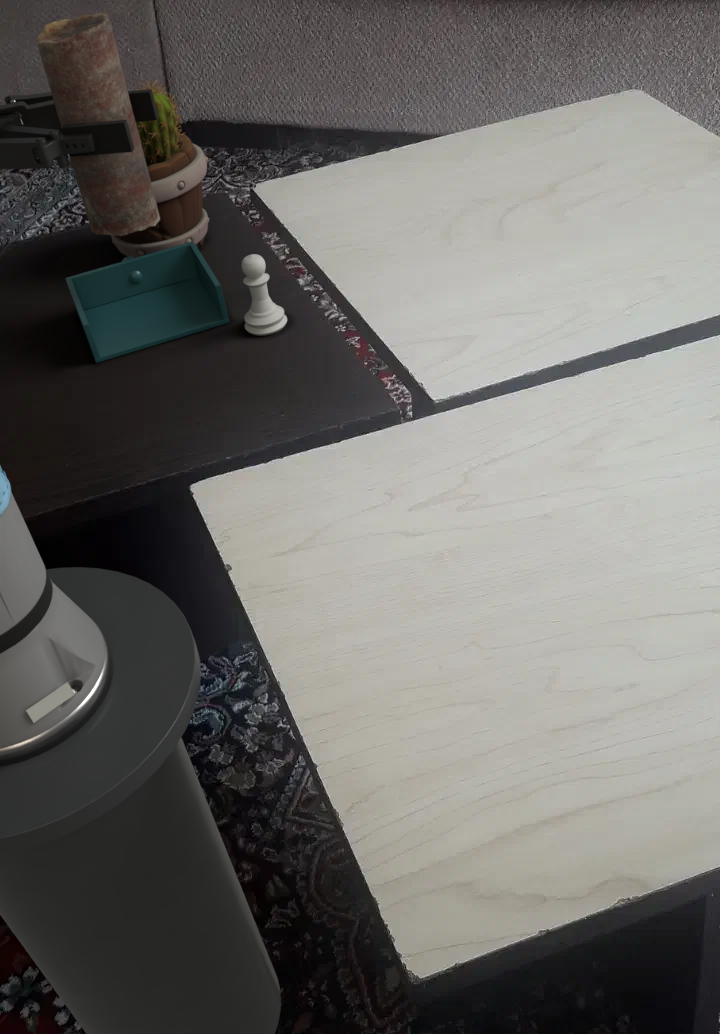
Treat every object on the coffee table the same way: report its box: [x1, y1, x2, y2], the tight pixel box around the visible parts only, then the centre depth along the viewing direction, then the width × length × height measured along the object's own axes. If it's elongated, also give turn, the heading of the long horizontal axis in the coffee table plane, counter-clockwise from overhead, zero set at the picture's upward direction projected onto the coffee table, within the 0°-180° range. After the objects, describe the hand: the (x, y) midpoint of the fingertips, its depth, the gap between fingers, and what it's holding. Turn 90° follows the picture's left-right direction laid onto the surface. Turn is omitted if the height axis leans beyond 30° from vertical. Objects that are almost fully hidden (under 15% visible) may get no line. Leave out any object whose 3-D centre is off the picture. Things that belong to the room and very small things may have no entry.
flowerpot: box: [110, 74, 210, 258], centre depth 126 cm, size 14×15×20 cm
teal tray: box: [65, 241, 230, 364], centre depth 120 cm, size 17×15×4 cm
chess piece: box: [241, 253, 288, 337], centre depth 113 cm, size 5×5×8 cm
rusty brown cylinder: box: [36, 12, 160, 236], centre depth 105 cm, size 8×7×20 cm
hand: (141, 120), depth 104 cm, fingers closed on rusty brown cylinder, 7 cm apart
